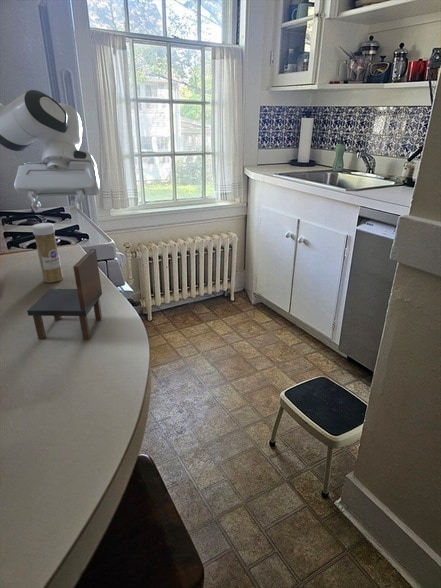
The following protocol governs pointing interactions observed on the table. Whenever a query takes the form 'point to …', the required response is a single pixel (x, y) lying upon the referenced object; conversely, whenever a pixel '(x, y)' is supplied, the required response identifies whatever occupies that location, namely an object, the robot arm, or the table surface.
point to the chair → (72, 297)
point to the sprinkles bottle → (47, 252)
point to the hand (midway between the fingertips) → (55, 208)
